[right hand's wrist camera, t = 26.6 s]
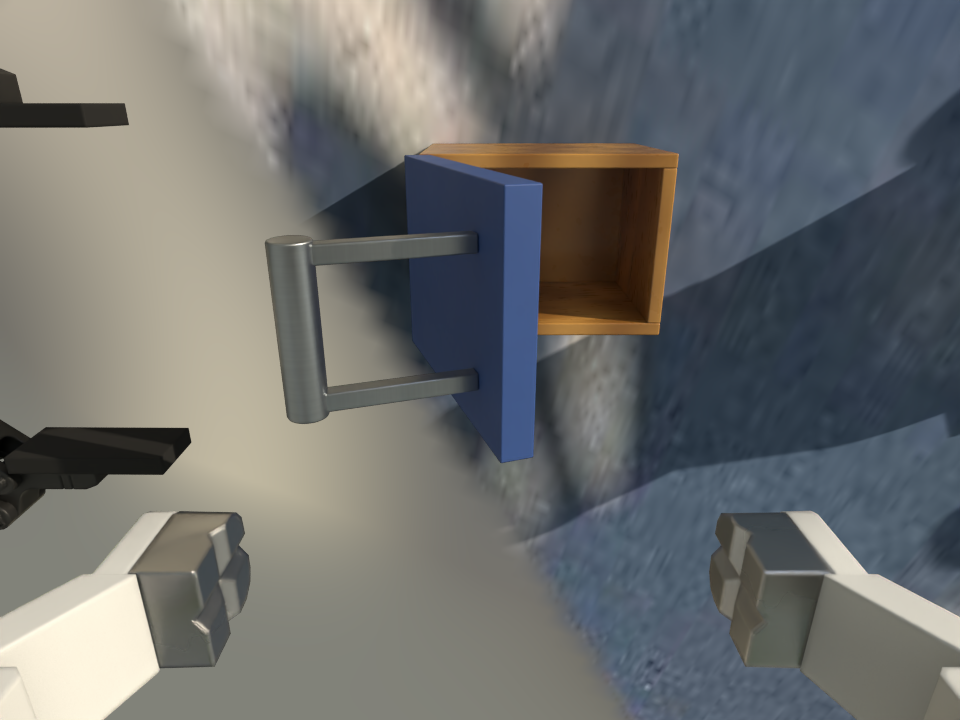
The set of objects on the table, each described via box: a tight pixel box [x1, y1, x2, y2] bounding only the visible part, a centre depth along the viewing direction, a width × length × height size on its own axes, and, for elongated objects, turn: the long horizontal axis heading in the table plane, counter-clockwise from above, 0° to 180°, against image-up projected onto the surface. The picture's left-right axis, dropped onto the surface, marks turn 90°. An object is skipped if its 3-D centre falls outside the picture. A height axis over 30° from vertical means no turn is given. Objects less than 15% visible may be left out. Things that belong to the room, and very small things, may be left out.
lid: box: [265, 155, 543, 463], centre depth 26 cm, size 14×10×8 cm
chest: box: [419, 144, 678, 335], centre depth 38 cm, size 13×10×10 cm
